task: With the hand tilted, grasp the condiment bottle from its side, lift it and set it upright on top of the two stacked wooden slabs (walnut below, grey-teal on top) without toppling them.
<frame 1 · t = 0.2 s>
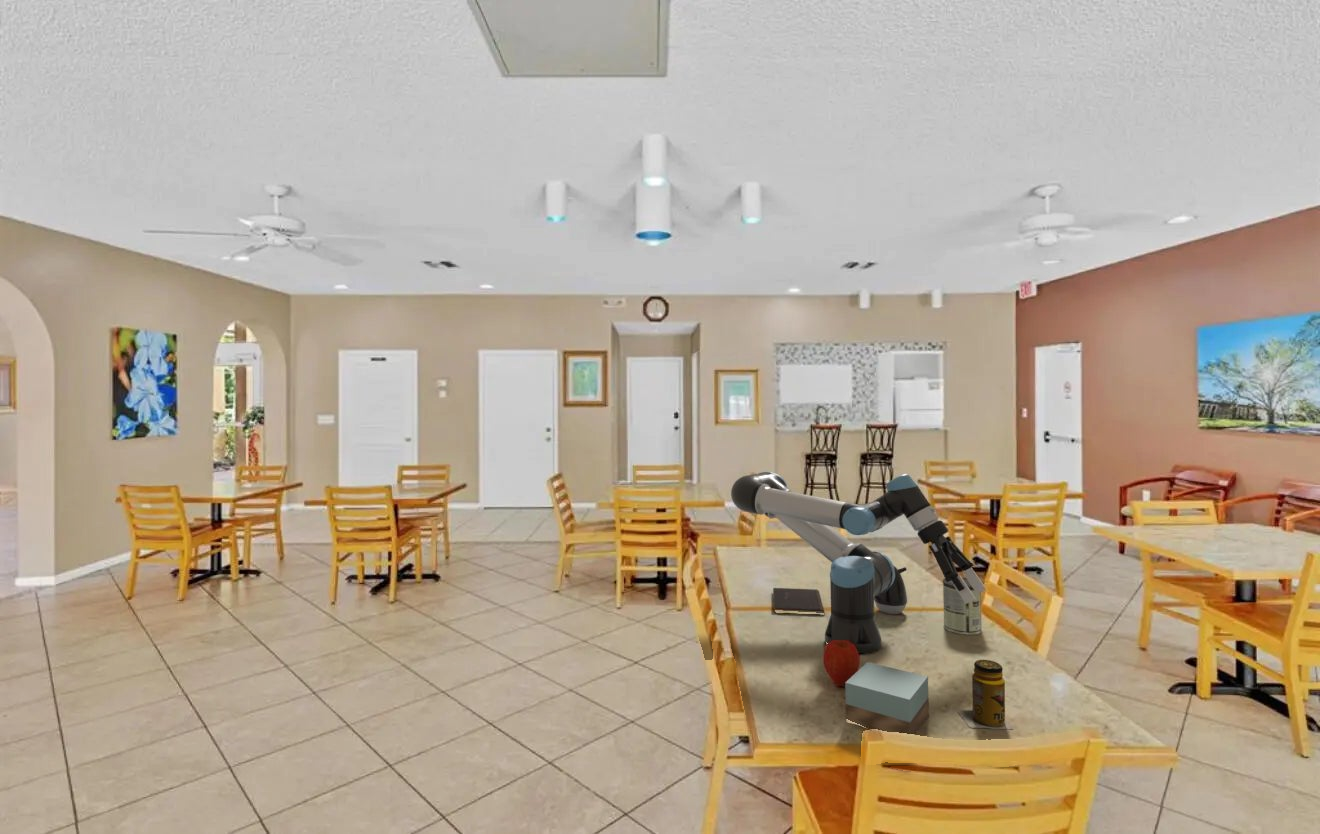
hand: (976, 596, 163), 16 cm above the table, tool tilted 35°, fingers open, 13 cm apart
hardcover book: (797, 605, 209), on the table
tower base: (887, 721, 130), on the table, touching tower top
tower top: (887, 700, 130), point 4 cm above the table, touching tower base
coffee can: (962, 629, 182), on the table
condiment: (983, 721, 129), on the table
apple: (841, 687, 146), on the table
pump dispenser: (890, 612, 199), on the table
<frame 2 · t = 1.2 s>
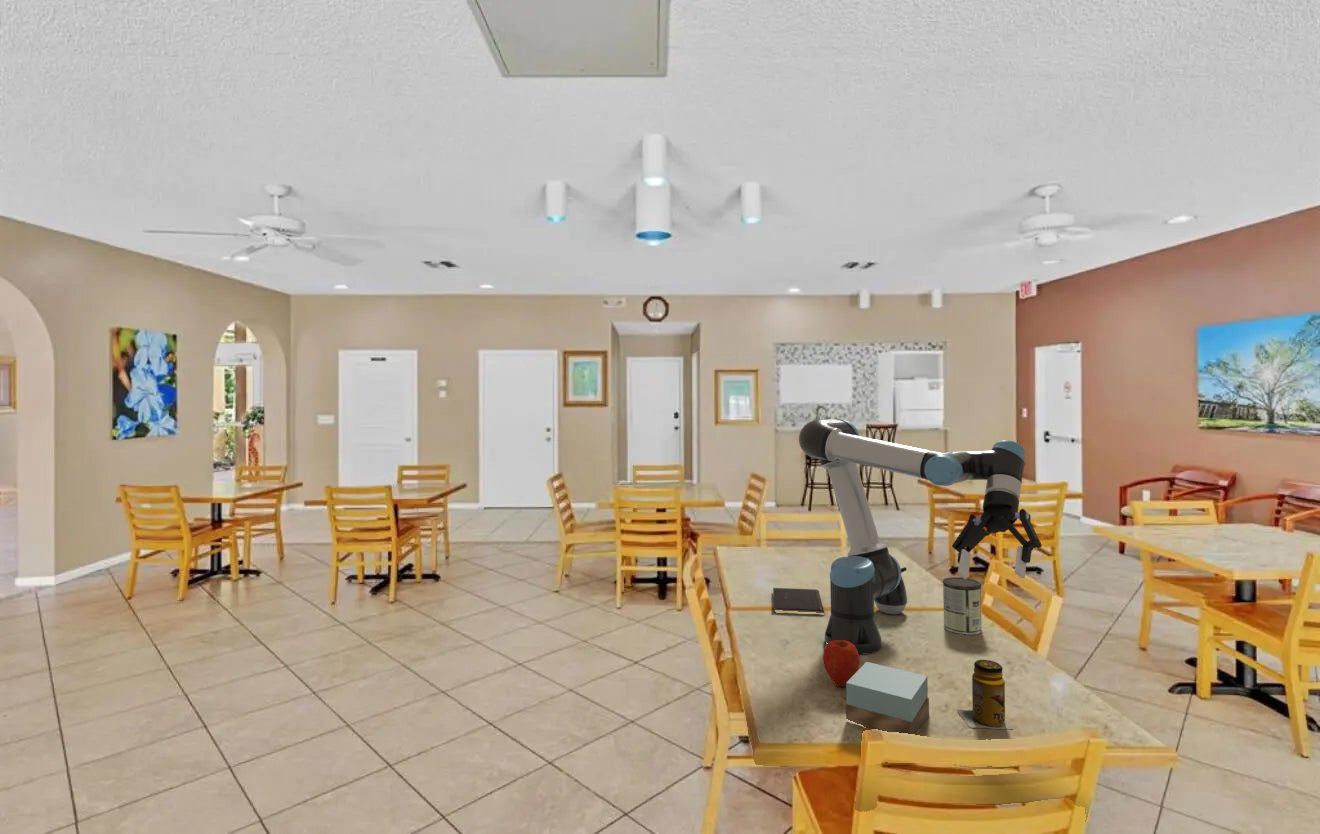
hand: (989, 575, 141), 27 cm above the table, tool tilted 40°, fingers open, 13 cm apart
nothing on the table moved.
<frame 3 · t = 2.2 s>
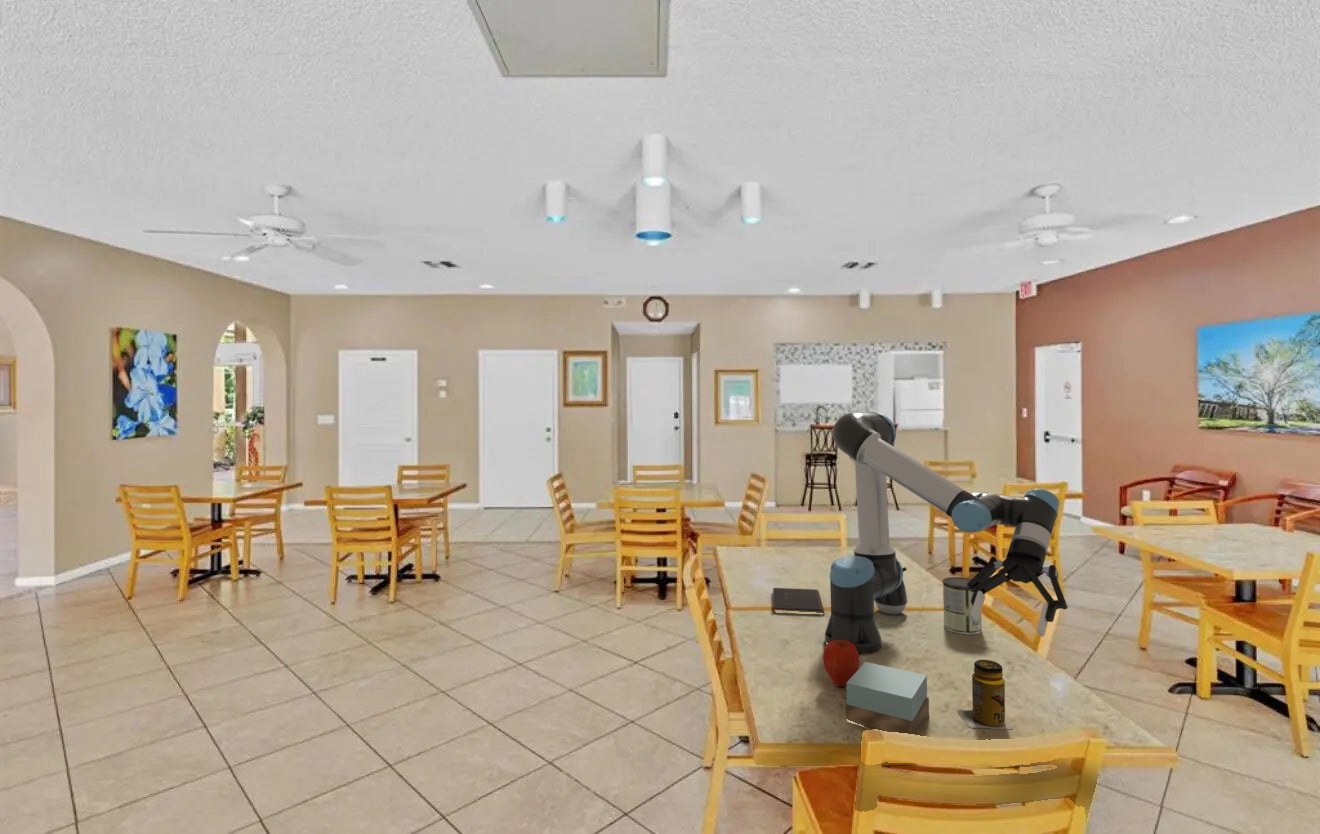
hand: (1005, 625, 136), 17 cm above the table, tool tilted 45°, fingers open, 13 cm apart
nothing on the table moved.
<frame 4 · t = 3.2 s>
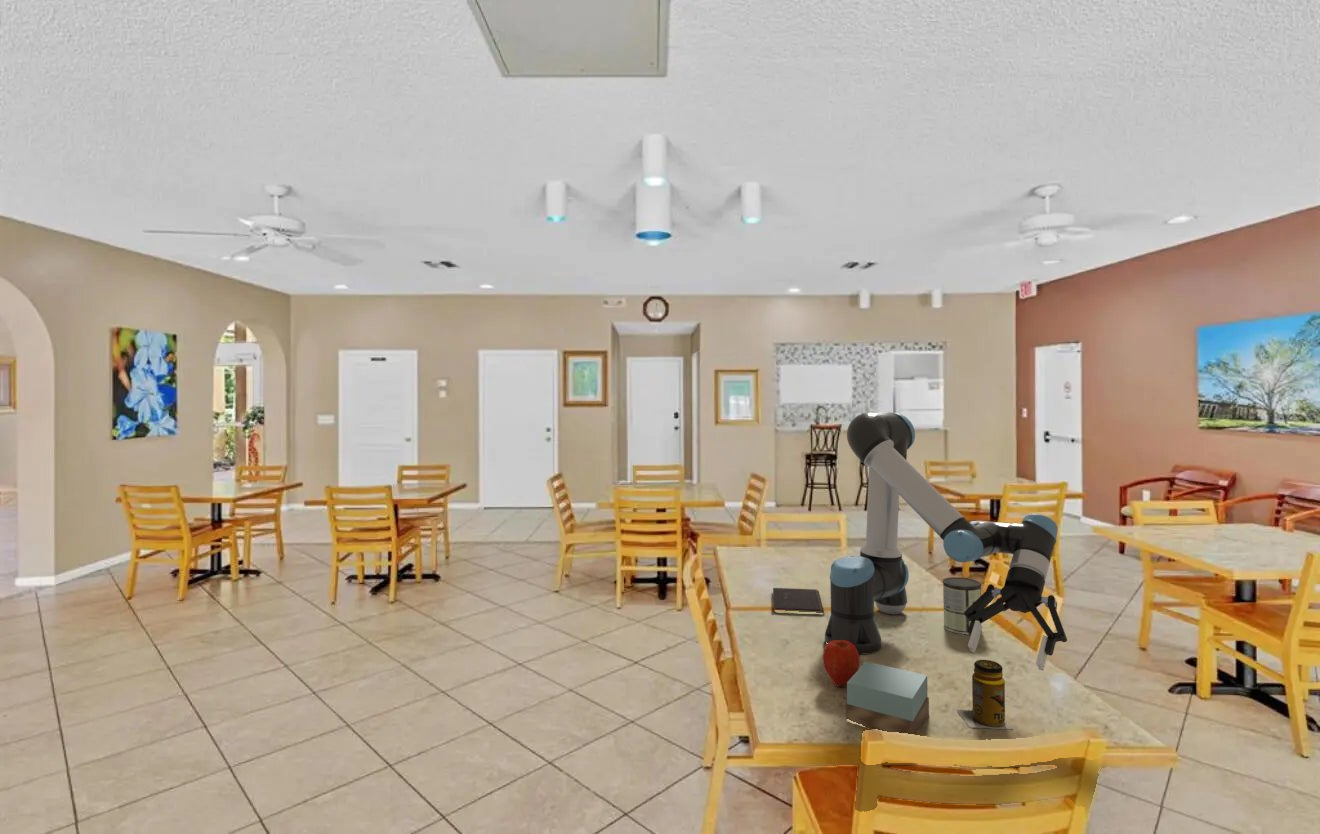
hand: (1004, 657, 132), 12 cm above the table, tool tilted 45°, fingers open, 13 cm apart
nothing on the table moved.
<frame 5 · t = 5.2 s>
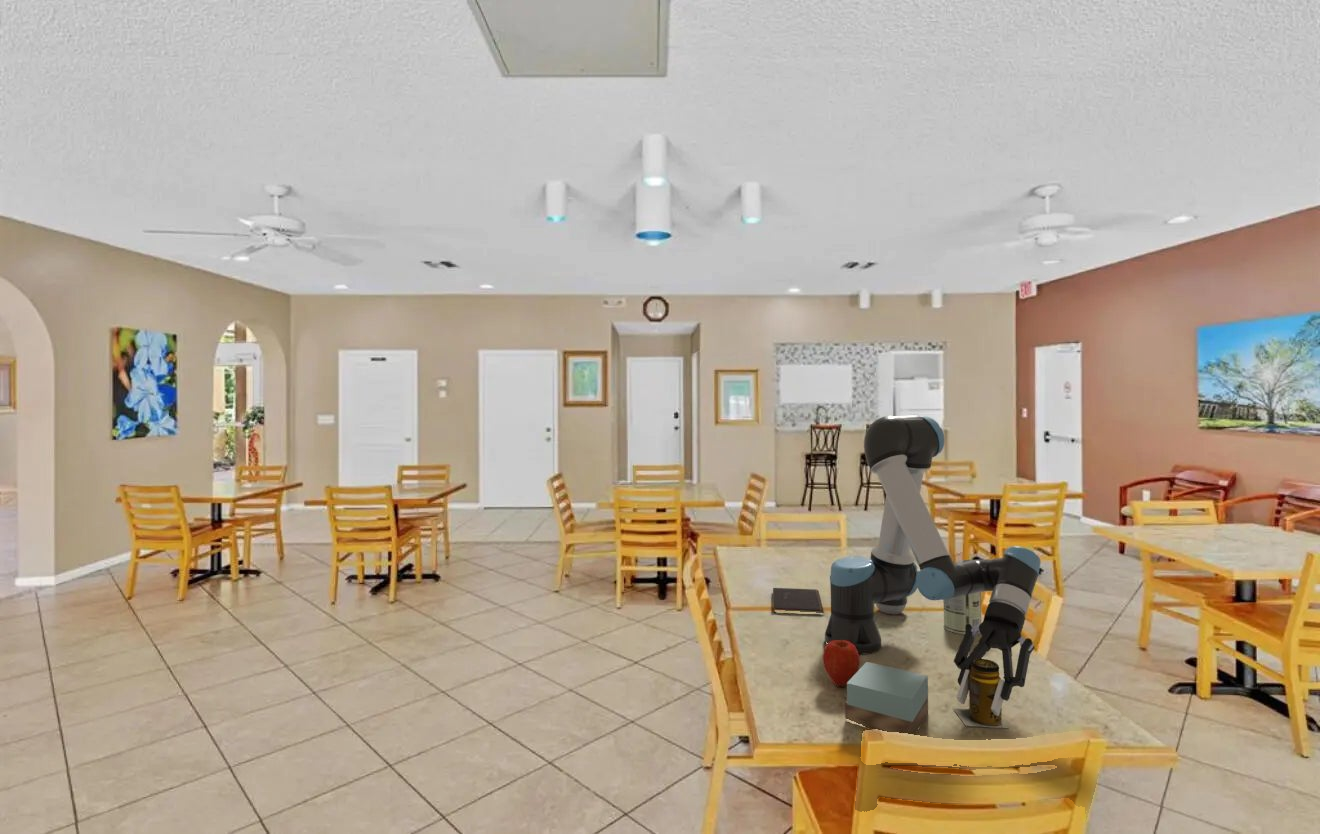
hand: (977, 706, 127), 4 cm above the table, tool tilted 45°, fingers closed on condiment, 6 cm apart
condiment: (980, 720, 129), on the table, touching gripper
everything else where it was.
when the fingers open (14 cm above the table, at t = 10.1 s): condiment drops 2 cm, resting on tower top.
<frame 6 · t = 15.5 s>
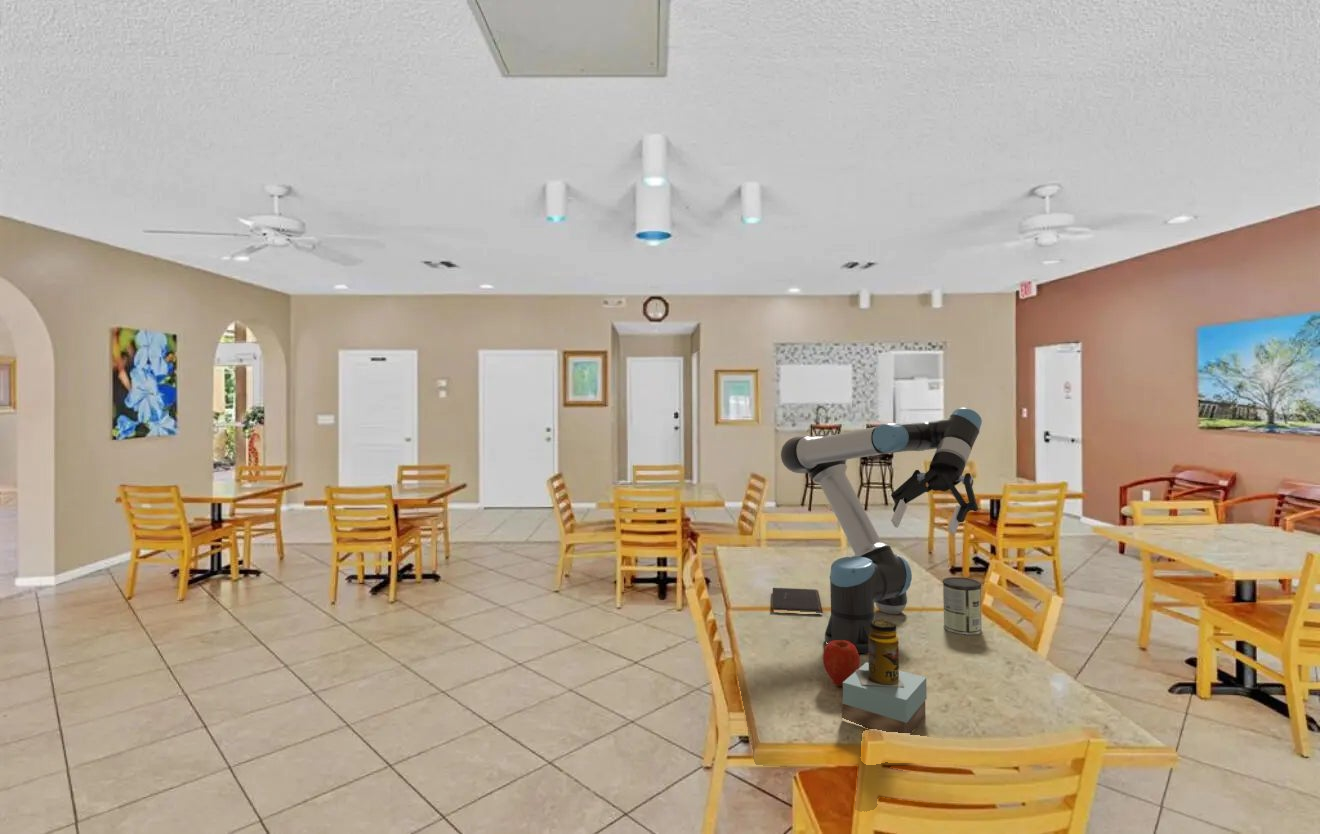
hand: (921, 527, 144), 38 cm above the table, tool tilted 45°, fingers open, 13 cm apart
tower top: (885, 701, 130), point 4 cm above the table, touching condiment, tower base
condiment: (879, 680, 130), point 8 cm above the table, touching tower top
everything else where it was.
at the end: condiment inside the target area on the tower top (1.1 cm from its centre), point 4.3 cm above the tower top's base; condiment tilted 0°; tower top moved 0.6 cm from its start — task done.
